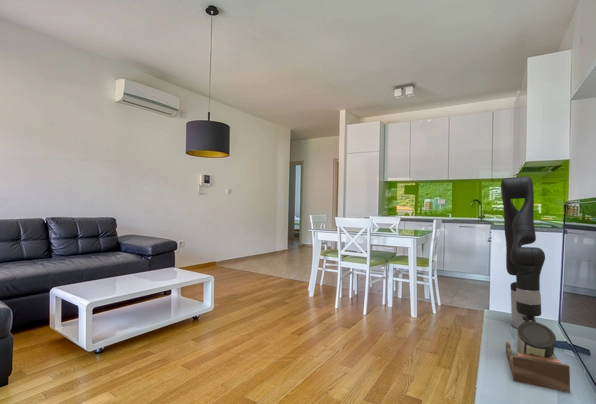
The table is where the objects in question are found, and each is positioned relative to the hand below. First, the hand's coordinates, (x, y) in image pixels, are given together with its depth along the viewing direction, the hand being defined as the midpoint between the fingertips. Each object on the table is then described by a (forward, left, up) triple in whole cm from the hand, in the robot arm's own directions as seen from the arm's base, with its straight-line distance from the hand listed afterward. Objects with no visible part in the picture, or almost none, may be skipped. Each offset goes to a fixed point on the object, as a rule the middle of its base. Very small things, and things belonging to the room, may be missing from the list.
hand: (529, 347), depth 115 cm
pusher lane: (+7, 0, -5) cm, 9 cm away
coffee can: (+5, 0, -3) cm, 6 cm away
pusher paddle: (+15, 0, -5) cm, 16 cm away
